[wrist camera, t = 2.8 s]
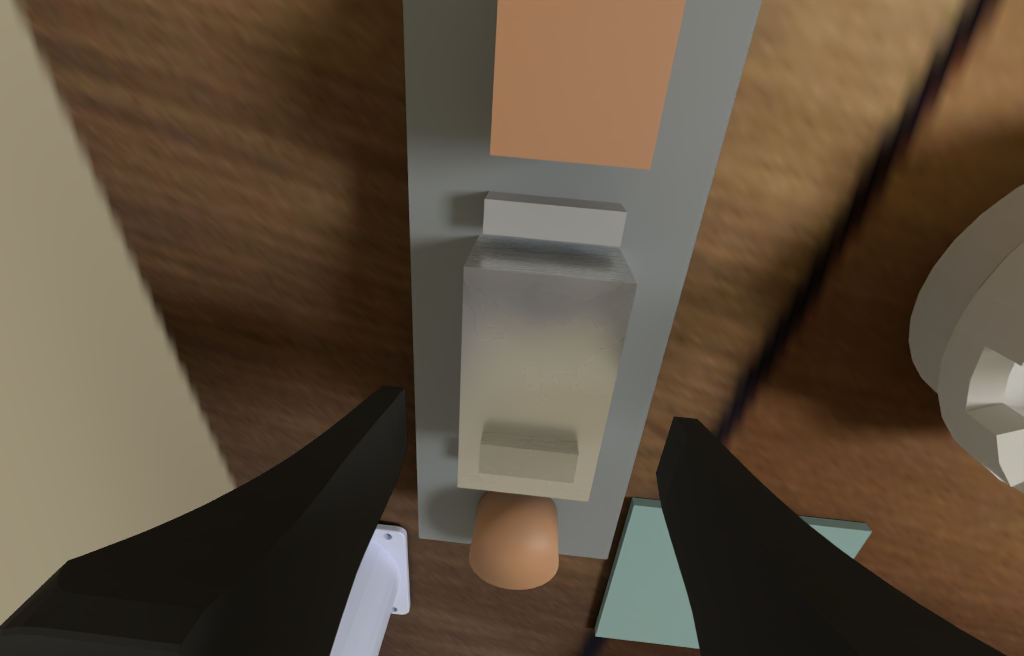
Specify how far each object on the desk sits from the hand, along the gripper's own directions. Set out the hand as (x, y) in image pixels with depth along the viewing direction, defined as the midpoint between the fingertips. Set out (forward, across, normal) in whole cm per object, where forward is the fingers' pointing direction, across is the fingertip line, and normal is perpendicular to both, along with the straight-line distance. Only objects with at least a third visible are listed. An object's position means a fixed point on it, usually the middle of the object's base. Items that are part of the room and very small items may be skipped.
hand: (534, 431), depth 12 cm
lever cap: (+4, 0, 0) cm, 5 cm away
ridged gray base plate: (+8, 0, 0) cm, 8 cm away
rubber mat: (+7, -12, +16) cm, 21 cm away
